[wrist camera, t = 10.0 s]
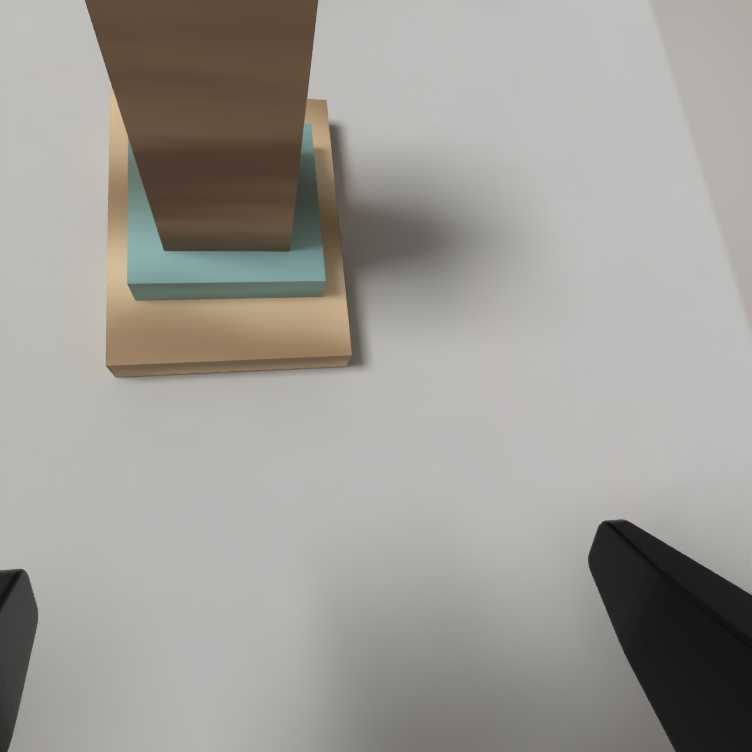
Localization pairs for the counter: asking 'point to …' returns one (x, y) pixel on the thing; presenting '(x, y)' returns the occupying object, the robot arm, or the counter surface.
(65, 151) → the counter surface
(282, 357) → the plinth
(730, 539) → the counter surface
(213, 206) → the pillar
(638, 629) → the robot arm
